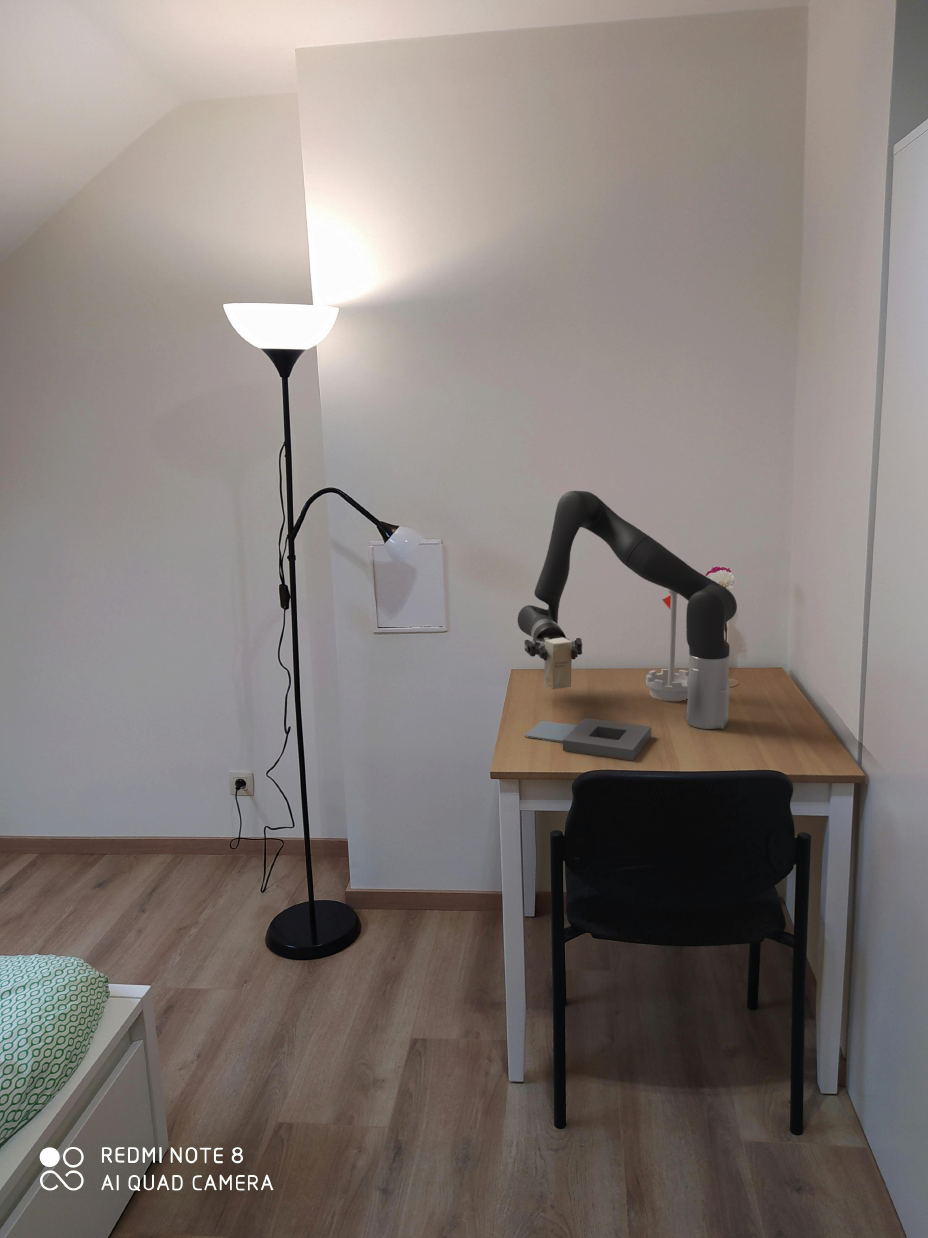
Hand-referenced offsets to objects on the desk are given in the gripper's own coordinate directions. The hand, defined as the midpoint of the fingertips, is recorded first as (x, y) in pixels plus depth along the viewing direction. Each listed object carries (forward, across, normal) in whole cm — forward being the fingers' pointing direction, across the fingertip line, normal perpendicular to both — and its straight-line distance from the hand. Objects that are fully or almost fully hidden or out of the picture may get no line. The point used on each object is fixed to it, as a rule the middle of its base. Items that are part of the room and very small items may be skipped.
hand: (560, 655), depth 209 cm
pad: (-3, -1, +20) cm, 20 cm away
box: (-2, 0, +8) cm, 9 cm away
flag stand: (-27, +35, +20) cm, 49 cm away
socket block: (+6, +10, +20) cm, 23 cm away
